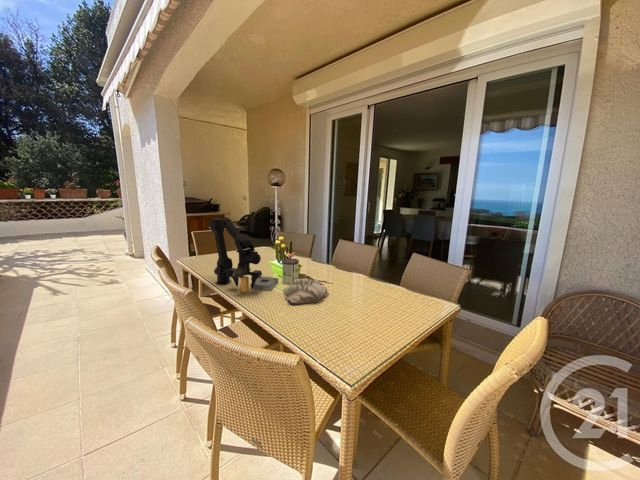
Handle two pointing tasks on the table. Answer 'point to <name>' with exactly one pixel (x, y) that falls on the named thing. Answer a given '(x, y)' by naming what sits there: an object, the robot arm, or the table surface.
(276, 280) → the rosette plate
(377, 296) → the table surface
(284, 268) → the coffee can
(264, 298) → the table surface
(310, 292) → the seashell
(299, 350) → the table surface
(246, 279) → the tall orange box
